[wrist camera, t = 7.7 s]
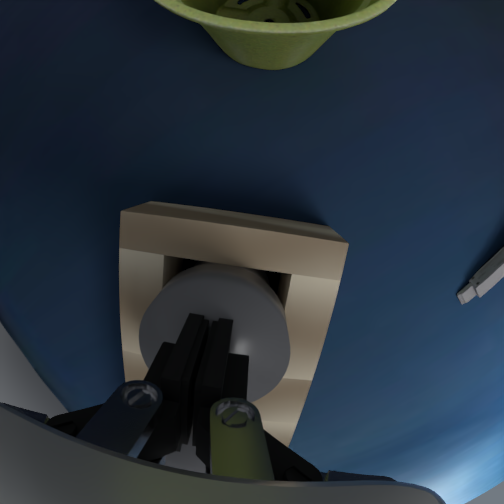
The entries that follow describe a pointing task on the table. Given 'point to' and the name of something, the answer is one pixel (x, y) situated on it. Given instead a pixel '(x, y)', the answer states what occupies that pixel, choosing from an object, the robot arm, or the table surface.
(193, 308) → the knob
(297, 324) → the mount
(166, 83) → the table surface
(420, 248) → the table surface
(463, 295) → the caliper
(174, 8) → the plant pot
